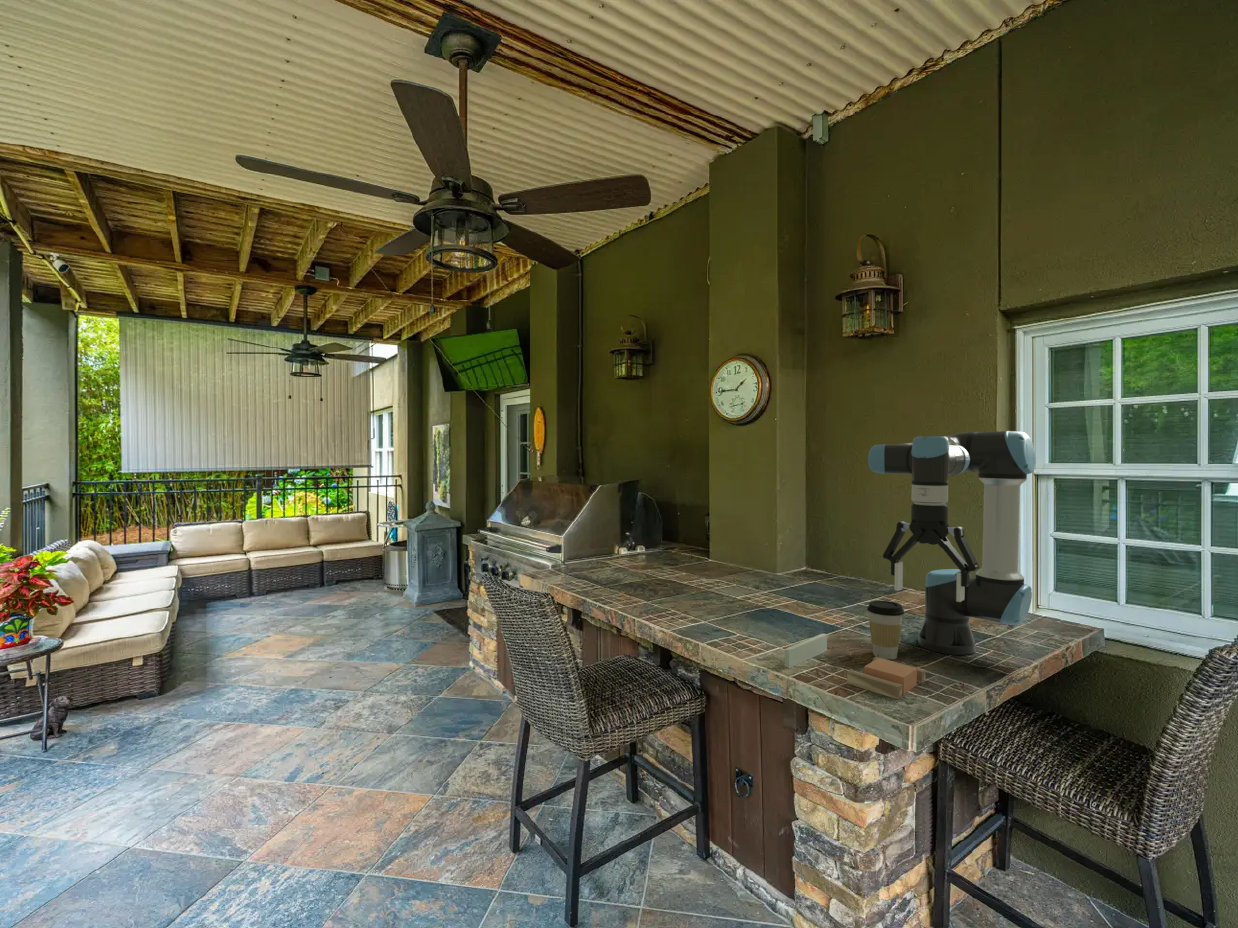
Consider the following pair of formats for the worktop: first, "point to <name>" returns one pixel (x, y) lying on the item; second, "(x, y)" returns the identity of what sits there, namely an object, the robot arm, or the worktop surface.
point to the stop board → (805, 650)
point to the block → (893, 673)
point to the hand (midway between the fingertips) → (928, 595)
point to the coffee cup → (885, 628)
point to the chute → (881, 682)
